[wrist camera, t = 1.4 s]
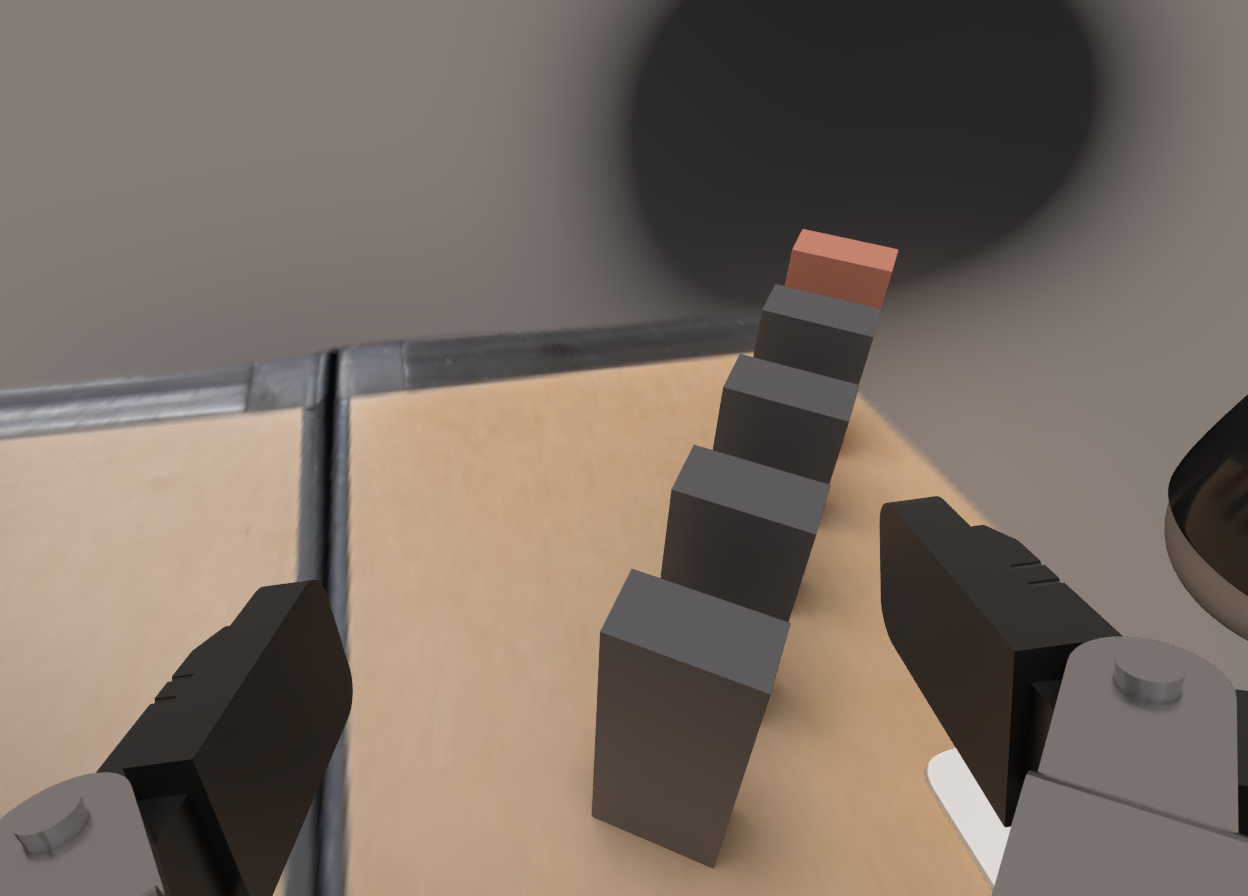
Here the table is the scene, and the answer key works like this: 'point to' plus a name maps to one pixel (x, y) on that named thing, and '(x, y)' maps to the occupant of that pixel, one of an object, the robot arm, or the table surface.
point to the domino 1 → (841, 268)
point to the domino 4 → (741, 531)
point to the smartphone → (968, 812)
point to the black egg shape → (1213, 520)
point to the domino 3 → (784, 417)
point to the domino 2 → (816, 333)
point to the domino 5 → (679, 711)
